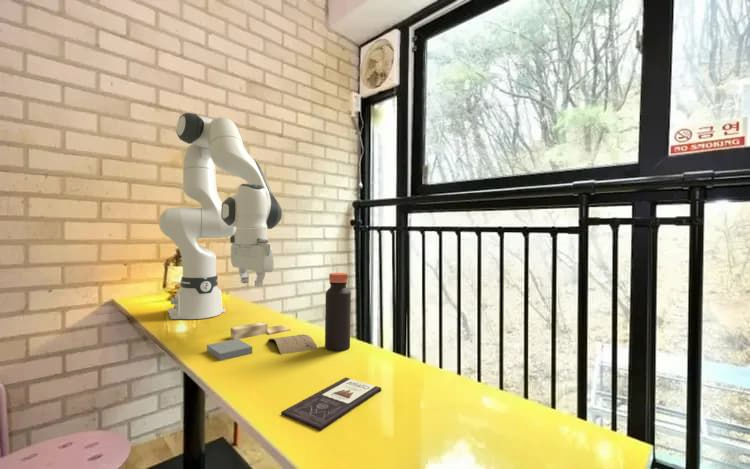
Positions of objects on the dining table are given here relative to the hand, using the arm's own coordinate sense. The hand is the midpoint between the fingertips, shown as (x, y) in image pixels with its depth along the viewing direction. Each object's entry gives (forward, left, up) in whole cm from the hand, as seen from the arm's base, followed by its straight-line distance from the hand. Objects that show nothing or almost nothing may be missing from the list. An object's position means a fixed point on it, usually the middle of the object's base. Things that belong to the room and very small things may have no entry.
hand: (251, 284), depth 109 cm
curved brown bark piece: (+16, +4, -16) cm, 23 cm away
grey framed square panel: (+6, -11, -14) cm, 19 cm away
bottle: (+26, +12, -15) cm, 33 cm away
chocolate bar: (+50, -8, -16) cm, 53 cm away
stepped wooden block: (0, +3, -15) cm, 16 cm away
